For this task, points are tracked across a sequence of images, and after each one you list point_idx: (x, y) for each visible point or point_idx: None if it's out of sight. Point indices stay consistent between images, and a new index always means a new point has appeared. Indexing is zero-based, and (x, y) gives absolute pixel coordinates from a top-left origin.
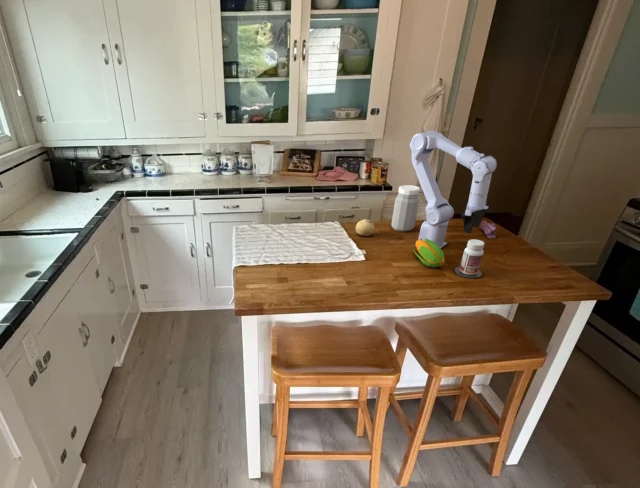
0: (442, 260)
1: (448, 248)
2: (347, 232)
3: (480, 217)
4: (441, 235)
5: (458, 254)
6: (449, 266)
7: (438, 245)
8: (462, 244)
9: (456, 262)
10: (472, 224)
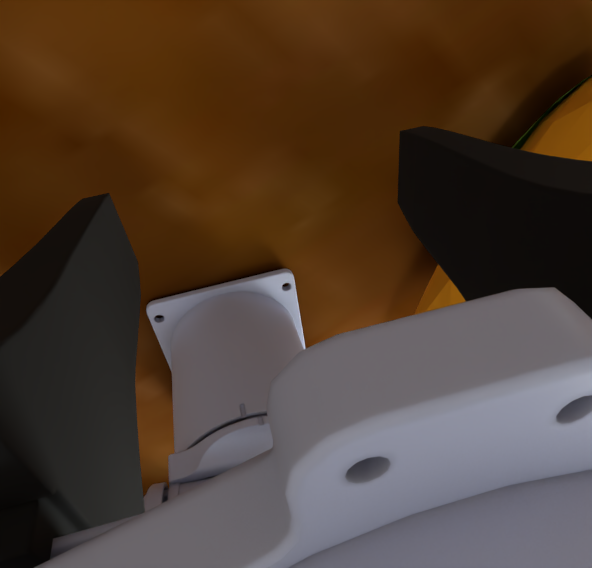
0: None
1: (207, 247)
2: None
3: (74, 297)
4: (277, 351)
5: (245, 135)
6: (502, 44)
7: (264, 300)
8: (33, 237)
9: (401, 50)
10: (555, 161)
